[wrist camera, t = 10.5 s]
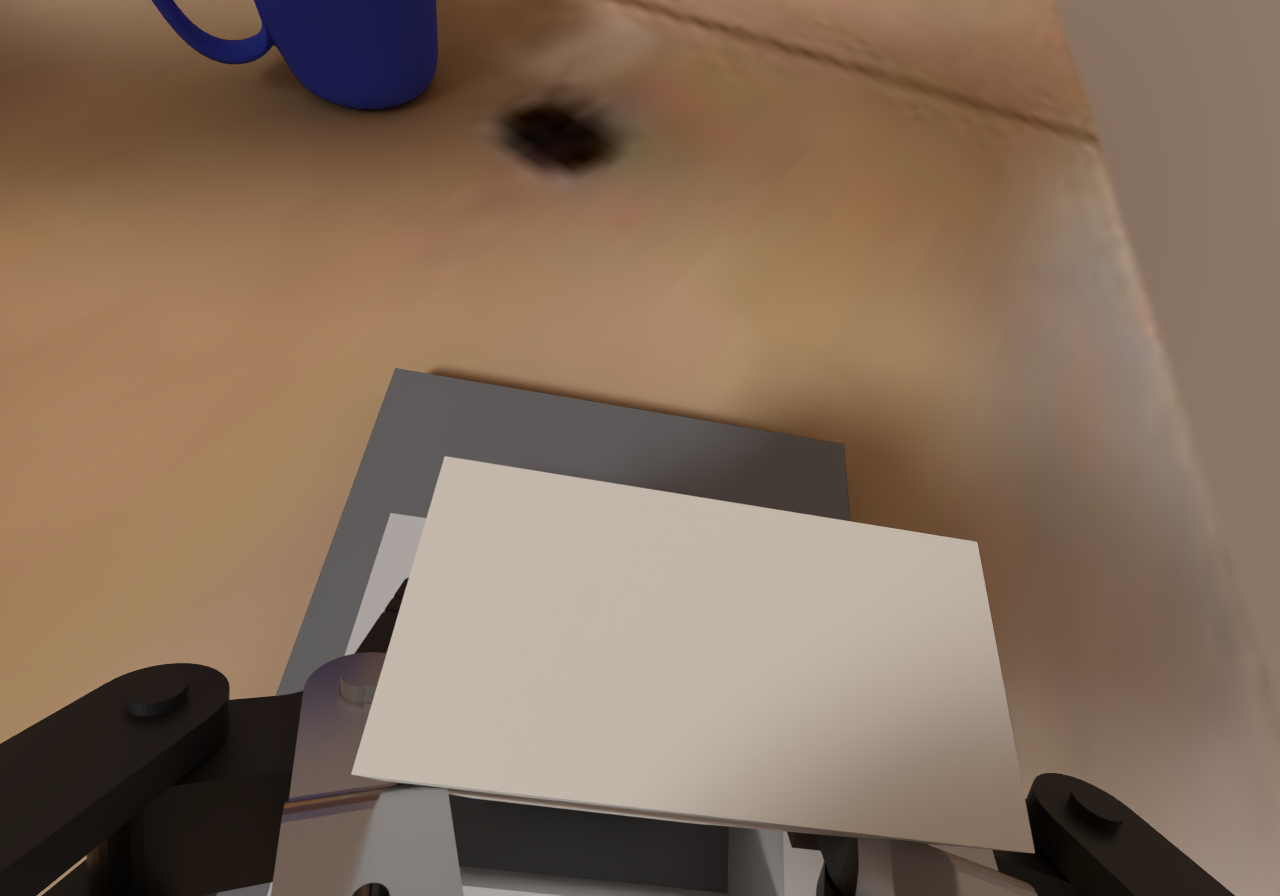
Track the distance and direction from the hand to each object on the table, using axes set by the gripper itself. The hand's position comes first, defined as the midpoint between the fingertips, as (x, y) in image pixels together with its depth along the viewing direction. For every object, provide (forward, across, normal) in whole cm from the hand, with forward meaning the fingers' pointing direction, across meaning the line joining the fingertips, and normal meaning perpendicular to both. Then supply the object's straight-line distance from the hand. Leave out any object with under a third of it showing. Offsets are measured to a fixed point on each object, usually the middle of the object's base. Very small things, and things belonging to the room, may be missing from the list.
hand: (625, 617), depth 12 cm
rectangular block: (+2, 0, +5) cm, 6 cm away
